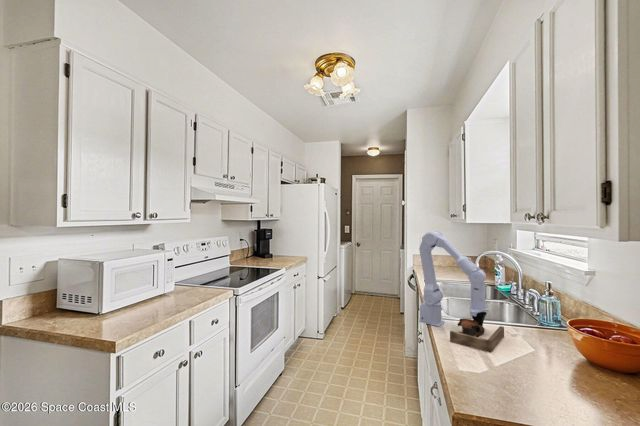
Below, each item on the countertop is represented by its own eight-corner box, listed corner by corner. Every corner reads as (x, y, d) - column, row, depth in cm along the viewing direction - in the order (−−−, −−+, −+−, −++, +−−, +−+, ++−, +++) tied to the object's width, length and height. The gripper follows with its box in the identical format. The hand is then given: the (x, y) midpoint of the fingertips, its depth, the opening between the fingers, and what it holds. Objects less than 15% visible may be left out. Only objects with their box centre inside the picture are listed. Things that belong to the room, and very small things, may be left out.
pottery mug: (451, 336, 127) (452, 317, 131) (465, 342, 131) (466, 323, 134) (478, 338, 118) (478, 317, 121) (492, 345, 121) (492, 324, 125)
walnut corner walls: (450, 341, 121) (449, 331, 121) (466, 327, 136) (466, 319, 136) (491, 352, 111) (490, 341, 111) (504, 336, 126) (503, 326, 126)
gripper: (483, 302, 122) (484, 335, 122) (492, 295, 132) (493, 326, 132) (465, 299, 127) (466, 331, 127) (475, 293, 137) (476, 322, 137)
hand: (478, 328), depth 130 cm, fingers closed
